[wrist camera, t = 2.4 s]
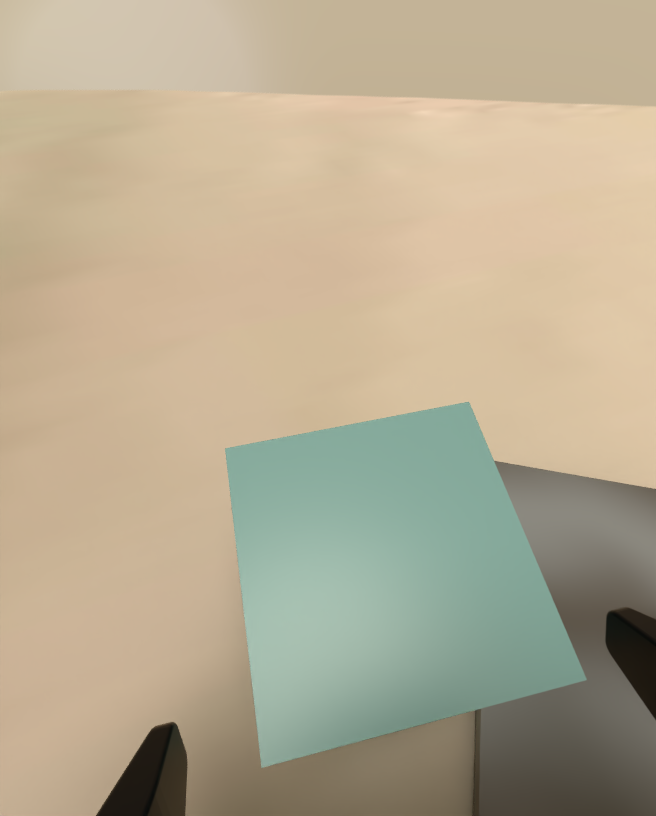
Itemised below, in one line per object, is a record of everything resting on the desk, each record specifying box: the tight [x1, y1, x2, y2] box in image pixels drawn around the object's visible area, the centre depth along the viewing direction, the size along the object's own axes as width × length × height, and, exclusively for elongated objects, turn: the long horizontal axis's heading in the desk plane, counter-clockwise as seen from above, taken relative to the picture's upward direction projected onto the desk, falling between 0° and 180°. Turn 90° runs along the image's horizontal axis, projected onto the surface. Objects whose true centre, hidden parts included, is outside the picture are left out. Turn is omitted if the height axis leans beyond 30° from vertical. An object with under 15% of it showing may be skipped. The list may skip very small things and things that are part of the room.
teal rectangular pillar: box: [225, 402, 587, 768], centre depth 13 cm, size 6×6×11 cm
